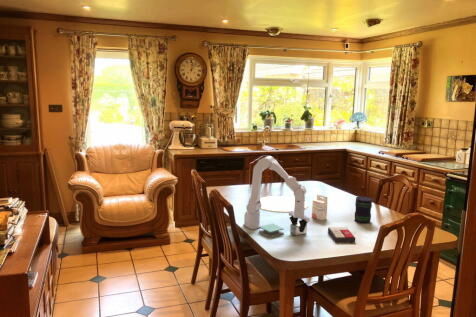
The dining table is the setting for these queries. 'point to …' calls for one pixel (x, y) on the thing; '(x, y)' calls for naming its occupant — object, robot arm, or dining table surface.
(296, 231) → the block
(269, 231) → the stand
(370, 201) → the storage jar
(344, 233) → the calculator
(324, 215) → the ink cartridge box
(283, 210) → the lazy susan
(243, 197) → the dining table surface
